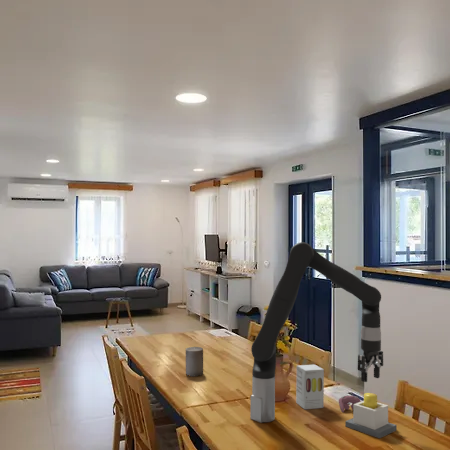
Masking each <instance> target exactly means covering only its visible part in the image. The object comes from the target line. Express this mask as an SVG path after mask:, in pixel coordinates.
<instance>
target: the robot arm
mask: <svg viewBox="0 0 450 450" xmlns="http://www.w3.org/2000/svg"><path fill="white" fill-rule="evenodd" d="M308 268H310V269H313V270H315V271H316V272H318V273H319V274H321V275H322V276H324V277H325V278H326V279H328V280H329V281H331V283H333V284H334V285H336V286H338V288H341V289H342V290H343V291H346V292H347V293H349V294H352V295H353V296H354V297H356V298H357V299H358V300H360V301H361V309H362V311H361V312H362V314H361V331H360V349H361V350H362V351H363V353H362V354H358V355H357V371H359V372H360V376H361V377H360V379H361V381H362V382H364V383H367V382H368V370H369V368H371V366H372V365H373V378H375V379H379V378H380V377H381V376H380V375H381V374H380V372H381V371H380V370H381V369H382V367H384V351H382V331H381V313H380V302H381V301H382V294H381V292H380V290H379V289H377V288H376V287H375V286H372V285H369V283H367V282H365V281H363V280H361V278H359V277H358V276H356V275H354V274H353V273H351V272H350V271H348V270H346V269H344V268H343V267H341V266H339V265H337V264H335V263H334V262H332V261H330V260H329V259H327V258H326V257H324V256H323V255H321V254H320V253H319V252H318V251H316V250H315V248H313V246H312V245H311V244H309V243H307V242H304V241H301V242H297V243H294V245H293V246H292V247H291V248H290V251H289V255H288V260H287V263H286V266H285V269H284V272H283V274H282V275H281V277H280V280H279V281H278V283H277V285H276V286H275V289H274V292H273V294H272V296H271V299H270V301H269V304H268V307H267V310H266V313H265V316H264V319H263V323H262V326H261V328H260V330H259V332H258V334H257V336H256V337H255V339H254V341H253V342H252V345H251V355H252V357H253V364H252V365H253V367H252V375H251V376H252V379H251V380H252V382H251V383H252V384H251V385H252V391H251V393H252V394H251V395H250V417H249V418H250V419H251V420H253V421H256V422H258V423H260V424H262V423H271V422H273V421H275V418H276V417H275V416H276V415H275V414H276V413H275V410H276V406H275V405H276V401H275V399H276V397H275V396H276V390H275V389H276V387H275V386H276V367H277V364H276V363H277V346H276V343H277V339H278V337H279V334H280V332H281V330H282V329H283V327H284V325H285V323H286V321H287V320H288V318H289V316H290V314H291V312H292V310H293V308H294V305H295V302H296V300H297V297H298V293H299V289H300V285H301V281H302V278H303V276H304V274H305V272H306V270H307V269H308Z"/></svg>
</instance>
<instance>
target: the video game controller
mask: <svg viewBox="0 0 450 450" xmlns="http://www.w3.org/2000/svg"><path fill="white" fill-rule="evenodd" d="M358 402H361V399H360V398H359V397H358V396H354V395H344V396H341V397H339V399H338V405H339V408H340V409H339V410H340V411H341V412H342V413H344V412H345V410H346V411H347V410H348V411H349V409H350V408H351V410H353V404H356V403H358ZM350 404H351V405H350Z"/></svg>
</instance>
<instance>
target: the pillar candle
mask: <svg viewBox="0 0 450 450" xmlns="http://www.w3.org/2000/svg"><path fill="white" fill-rule="evenodd" d="M186 374H187V375H186ZM202 374H203V375H204V348H203V347H199V346H190V347H187V348H185V375H186V376H188V375H190V376H189V377H199V376H198V375H200V376H203V375H202Z"/></svg>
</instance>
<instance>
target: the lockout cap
mask: <svg viewBox="0 0 450 450" xmlns="http://www.w3.org/2000/svg"><path fill="white" fill-rule="evenodd" d="M363 401H364V406H365V407H368V408H371V409H375V408H377V402H378V394H376V393H372V392H365V393H364V394H363Z"/></svg>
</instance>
